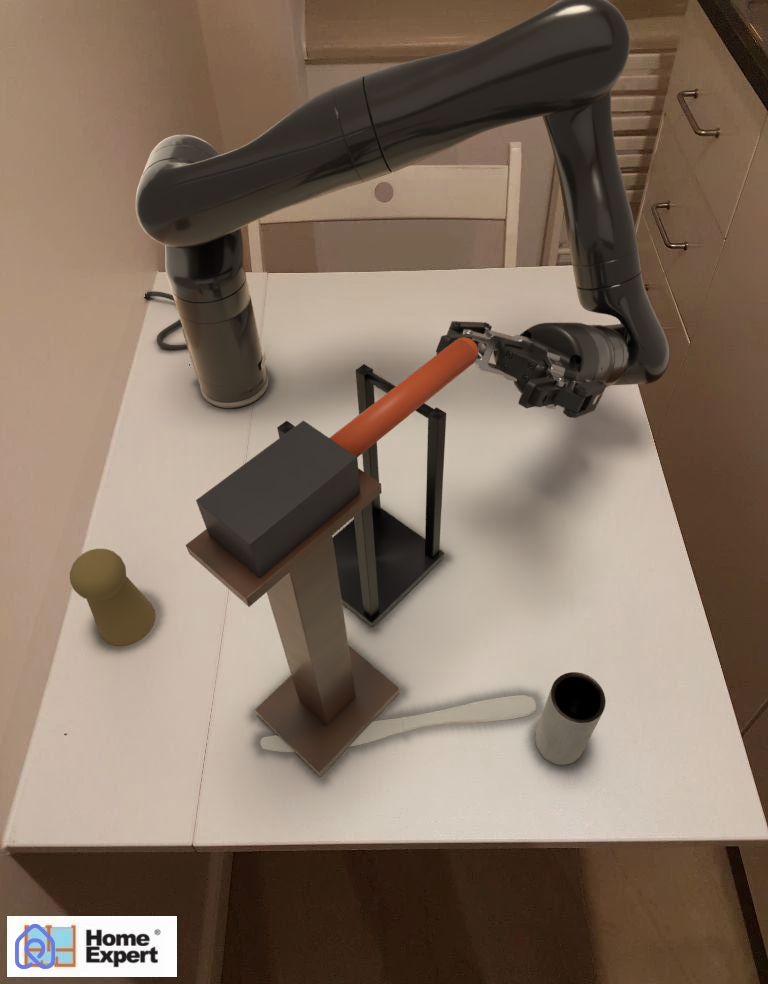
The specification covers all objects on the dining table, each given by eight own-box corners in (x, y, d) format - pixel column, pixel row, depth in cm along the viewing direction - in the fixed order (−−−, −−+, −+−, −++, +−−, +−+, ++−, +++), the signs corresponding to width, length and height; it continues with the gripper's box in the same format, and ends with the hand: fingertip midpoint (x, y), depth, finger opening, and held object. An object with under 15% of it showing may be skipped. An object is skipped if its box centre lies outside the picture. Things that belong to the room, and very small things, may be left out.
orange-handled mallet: (208, 534, 46) (195, 500, 44) (446, 349, 57) (448, 312, 54) (259, 578, 44) (249, 544, 41) (497, 377, 55) (501, 340, 52)
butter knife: (540, 721, 69) (533, 691, 71) (260, 762, 68) (259, 730, 70) (540, 723, 70) (532, 694, 71) (261, 763, 68) (260, 732, 70)
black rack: (301, 570, 81) (270, 427, 64) (373, 507, 87) (363, 359, 69) (372, 627, 76) (360, 491, 59) (444, 557, 82) (453, 412, 64)
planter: (586, 726, 69) (609, 680, 61) (579, 772, 66) (601, 730, 58) (540, 712, 70) (556, 665, 62) (530, 756, 67) (546, 713, 59)
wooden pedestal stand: (253, 718, 71) (170, 532, 47) (339, 635, 76) (305, 431, 52) (316, 781, 67) (262, 613, 43) (402, 689, 72) (397, 494, 48)
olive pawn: (141, 650, 76) (107, 596, 67) (88, 640, 76) (48, 585, 68) (164, 601, 79) (134, 543, 71) (113, 592, 80) (77, 534, 72)
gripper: (519, 296, 72) (431, 292, 60) (646, 357, 66) (578, 366, 54) (491, 365, 76) (402, 374, 63) (609, 428, 70) (537, 453, 57)
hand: (483, 370), depth 58 cm, fingers open, 8 cm apart
